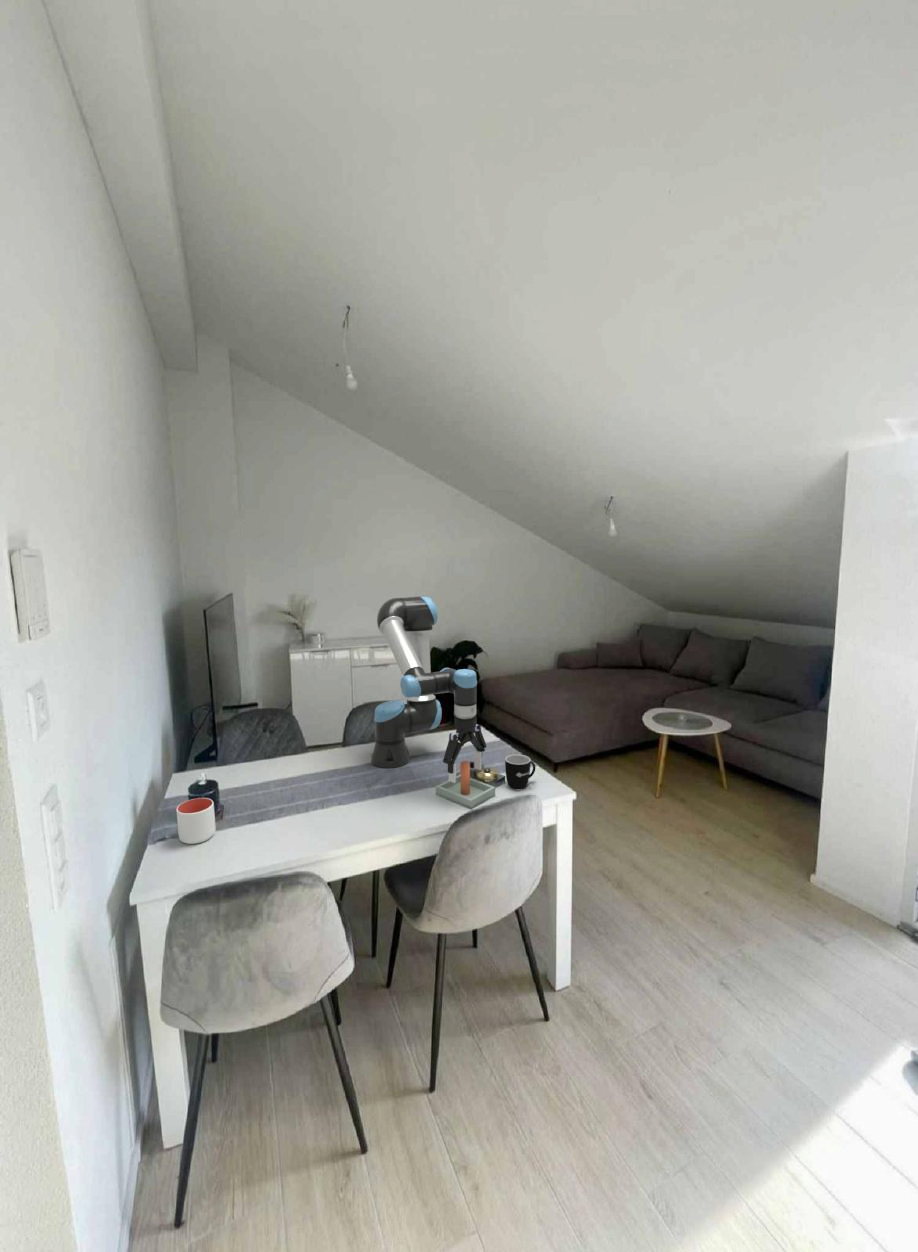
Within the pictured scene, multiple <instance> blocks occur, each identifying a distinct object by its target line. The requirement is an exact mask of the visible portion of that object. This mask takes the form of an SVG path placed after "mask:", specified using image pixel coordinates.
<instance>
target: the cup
mask: <svg viewBox="0 0 918 1252" xmlns="http://www.w3.org/2000/svg"><path fill="white" fill-rule="evenodd" d="M175 810H176V821H177V830H178V838H179V839H178V840H179V841H180V842H182V843H184V844H186V845H187V844H189V845H195V844H200V843H204V842H206V841H208V840H209V839H211V838H212V837H213V836H214V835H215V833H216V829H217V827H216V817H215V815H216V814H215V804H214V801H213V800H212V799H211V798H208V797H198V798H193V799H190V800H189V799H188V800H186V801H184V802H181V803H180V804H179V805H178V806H177V807H176V809H175Z"/></svg>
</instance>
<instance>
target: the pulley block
mask: <svg viewBox="0 0 918 1252" xmlns="http://www.w3.org/2000/svg"><path fill="white" fill-rule="evenodd" d="M469 762H470V778H471V779H474V780H477V781H480V782H482V783H485V784H488V785H490V786H493V787H495V789H496V788H498V787H500V786H501V785H503V784H505V783H506V775H503V774H501V773H499V771H498V769H496V768H494V767H491V766H490V767H489V766H488V767H487V766H485V764H482V766H481V770H478V769H475V768H474V761H473V760H469ZM459 768H460V769H459V770H460V771H459V772H456V776H458V775H460V774H461V765H460V767H459Z"/></svg>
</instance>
